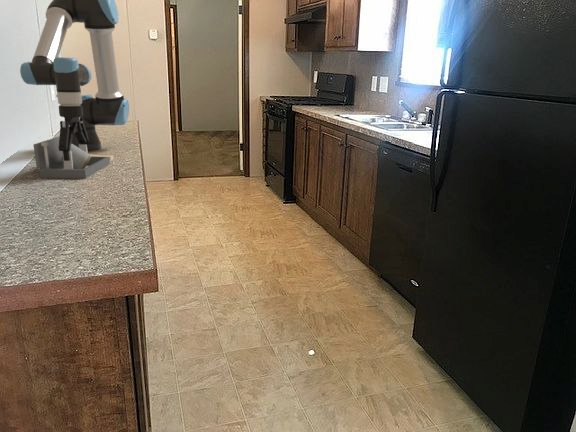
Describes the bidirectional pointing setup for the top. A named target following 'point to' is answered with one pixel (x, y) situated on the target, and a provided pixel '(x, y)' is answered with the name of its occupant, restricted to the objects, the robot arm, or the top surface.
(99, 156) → the beige square panel
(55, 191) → the top surface
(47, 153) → the case
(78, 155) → the ceramic mug
